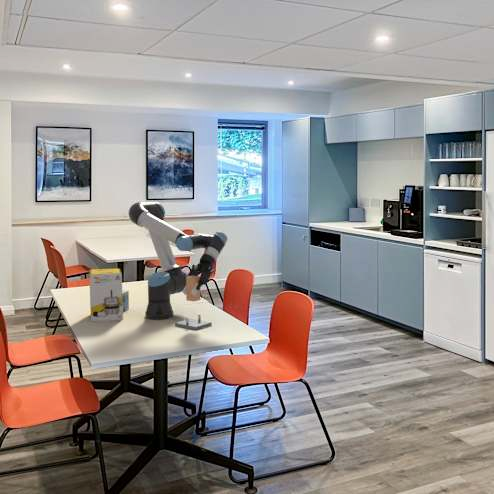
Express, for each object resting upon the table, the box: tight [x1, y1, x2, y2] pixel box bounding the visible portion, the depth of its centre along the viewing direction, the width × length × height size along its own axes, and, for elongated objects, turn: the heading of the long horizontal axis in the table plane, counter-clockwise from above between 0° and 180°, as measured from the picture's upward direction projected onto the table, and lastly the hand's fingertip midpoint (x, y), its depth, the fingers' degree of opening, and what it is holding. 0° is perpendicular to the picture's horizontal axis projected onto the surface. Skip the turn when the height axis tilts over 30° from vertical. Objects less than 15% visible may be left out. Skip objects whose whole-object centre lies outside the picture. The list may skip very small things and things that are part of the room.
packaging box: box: [88, 268, 124, 322], centre depth 324 cm, size 16×16×25 cm
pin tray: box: [174, 313, 213, 331], centre depth 307 cm, size 14×12×5 cm
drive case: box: [185, 275, 201, 302], centre depth 305 cm, size 5×5×12 cm
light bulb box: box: [122, 289, 130, 313], centre depth 341 cm, size 11×7×11 cm, turn 169°
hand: (188, 293), depth 302 cm, fingers closed on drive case, 5 cm apart
